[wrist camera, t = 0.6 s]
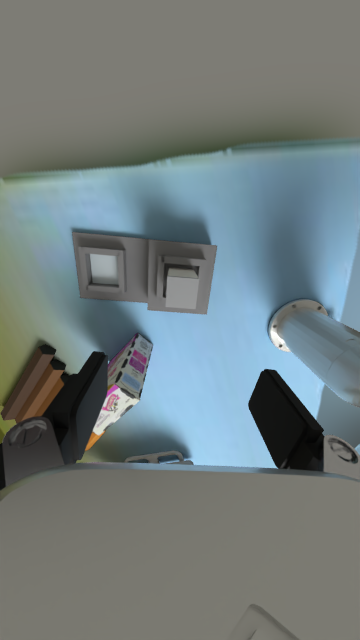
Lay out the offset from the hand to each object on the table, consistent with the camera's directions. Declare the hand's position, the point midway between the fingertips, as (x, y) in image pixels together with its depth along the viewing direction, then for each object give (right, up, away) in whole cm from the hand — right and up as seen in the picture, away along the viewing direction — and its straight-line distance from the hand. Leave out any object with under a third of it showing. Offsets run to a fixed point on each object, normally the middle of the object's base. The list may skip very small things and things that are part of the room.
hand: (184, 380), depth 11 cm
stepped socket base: (-7, +13, +25) cm, 29 cm away
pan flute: (-29, -17, +38) cm, 51 cm away
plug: (0, +11, +21) cm, 23 cm away
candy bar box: (-12, -4, +33) cm, 35 cm away
